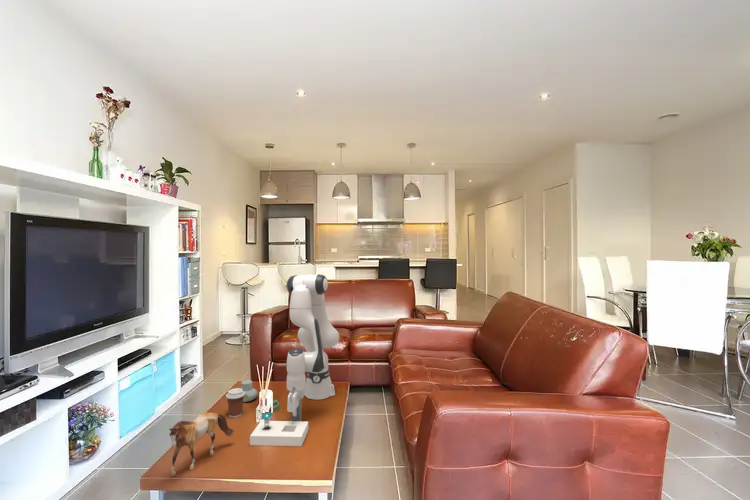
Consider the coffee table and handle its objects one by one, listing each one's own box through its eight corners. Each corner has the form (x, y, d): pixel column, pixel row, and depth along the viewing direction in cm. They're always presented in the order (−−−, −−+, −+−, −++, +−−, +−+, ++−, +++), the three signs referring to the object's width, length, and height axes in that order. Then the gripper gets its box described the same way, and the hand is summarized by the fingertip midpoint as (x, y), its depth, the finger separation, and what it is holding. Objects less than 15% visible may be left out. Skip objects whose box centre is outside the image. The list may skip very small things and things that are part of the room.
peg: (293, 421, 185) (293, 397, 185) (301, 421, 185) (301, 397, 184) (291, 425, 181) (291, 400, 181) (299, 425, 181) (299, 400, 180)
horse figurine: (173, 486, 136) (172, 428, 135) (157, 481, 139) (156, 424, 138) (235, 443, 165) (235, 396, 164) (221, 440, 168) (220, 393, 167)
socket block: (261, 429, 177) (261, 420, 177) (308, 430, 176) (308, 421, 176) (250, 445, 163) (250, 435, 163) (301, 446, 162) (301, 436, 162)
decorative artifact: (279, 412, 195) (278, 404, 205) (279, 399, 195) (278, 391, 205) (258, 415, 192) (259, 407, 202) (258, 401, 192) (259, 393, 202)
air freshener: (233, 402, 208) (233, 383, 208) (242, 396, 216) (242, 378, 216) (252, 403, 206) (251, 385, 206) (259, 397, 214) (259, 379, 214)
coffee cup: (236, 419, 187) (236, 395, 187) (221, 416, 190) (221, 392, 190) (249, 412, 196) (248, 388, 195) (234, 409, 199) (234, 386, 199)
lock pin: (263, 426, 172) (263, 412, 172) (273, 426, 172) (273, 412, 172) (260, 431, 168) (260, 416, 168) (270, 431, 168) (270, 416, 168)
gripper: (297, 392, 172) (297, 423, 172) (307, 376, 192) (307, 404, 193) (283, 392, 172) (283, 423, 172) (294, 376, 193) (295, 404, 193)
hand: (296, 413), depth 183 cm, fingers open, 4 cm apart
